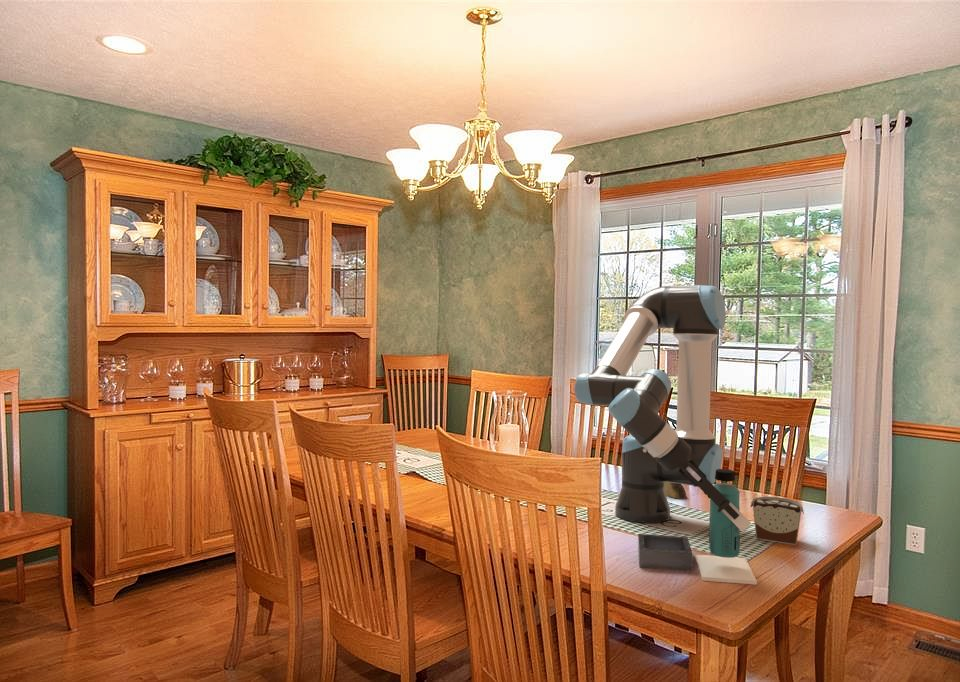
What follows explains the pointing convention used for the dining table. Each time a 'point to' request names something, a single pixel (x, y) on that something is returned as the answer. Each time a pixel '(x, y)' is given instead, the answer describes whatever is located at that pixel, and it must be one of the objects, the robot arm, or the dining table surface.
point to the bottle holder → (664, 552)
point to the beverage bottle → (724, 519)
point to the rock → (674, 490)
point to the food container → (777, 519)
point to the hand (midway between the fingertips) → (741, 522)
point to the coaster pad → (725, 569)
